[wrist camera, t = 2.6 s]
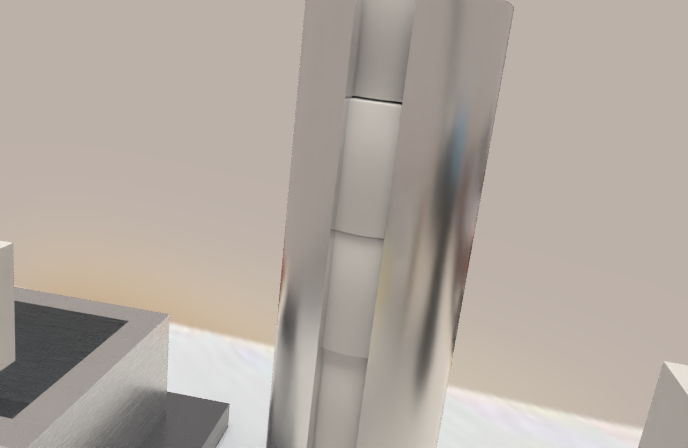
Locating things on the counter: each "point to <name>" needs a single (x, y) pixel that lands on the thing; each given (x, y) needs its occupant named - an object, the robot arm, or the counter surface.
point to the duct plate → (96, 380)
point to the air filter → (381, 216)
